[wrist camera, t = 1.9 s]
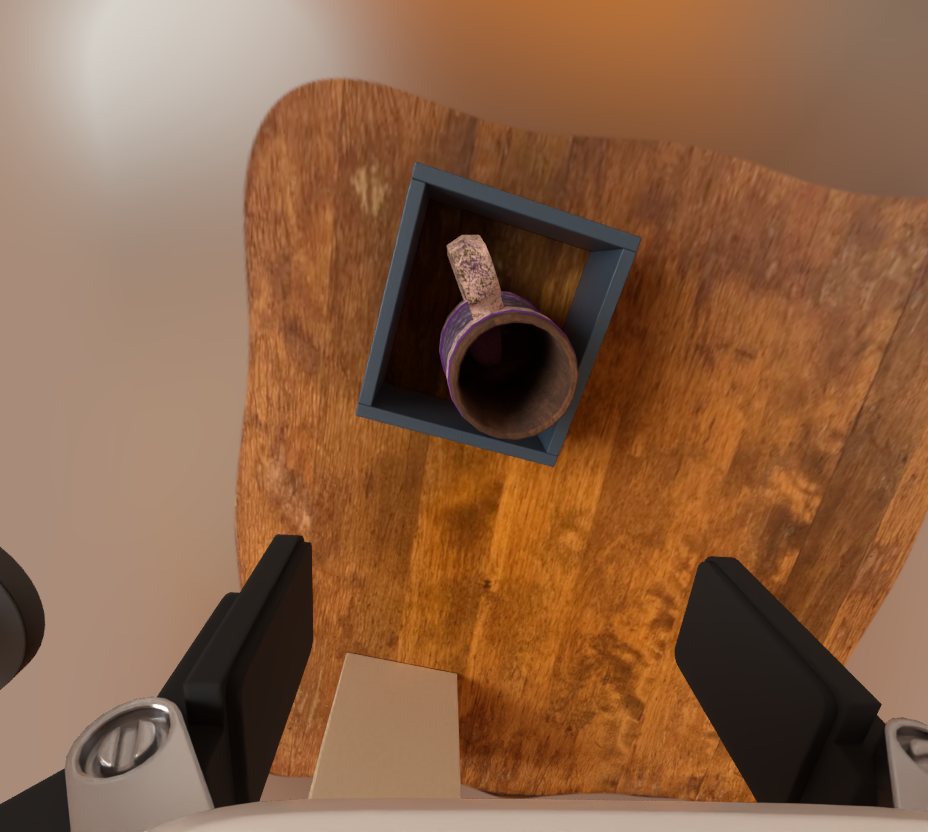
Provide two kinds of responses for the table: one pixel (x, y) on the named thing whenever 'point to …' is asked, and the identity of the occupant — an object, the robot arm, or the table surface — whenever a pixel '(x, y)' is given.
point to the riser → (390, 733)
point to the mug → (502, 352)
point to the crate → (581, 328)
